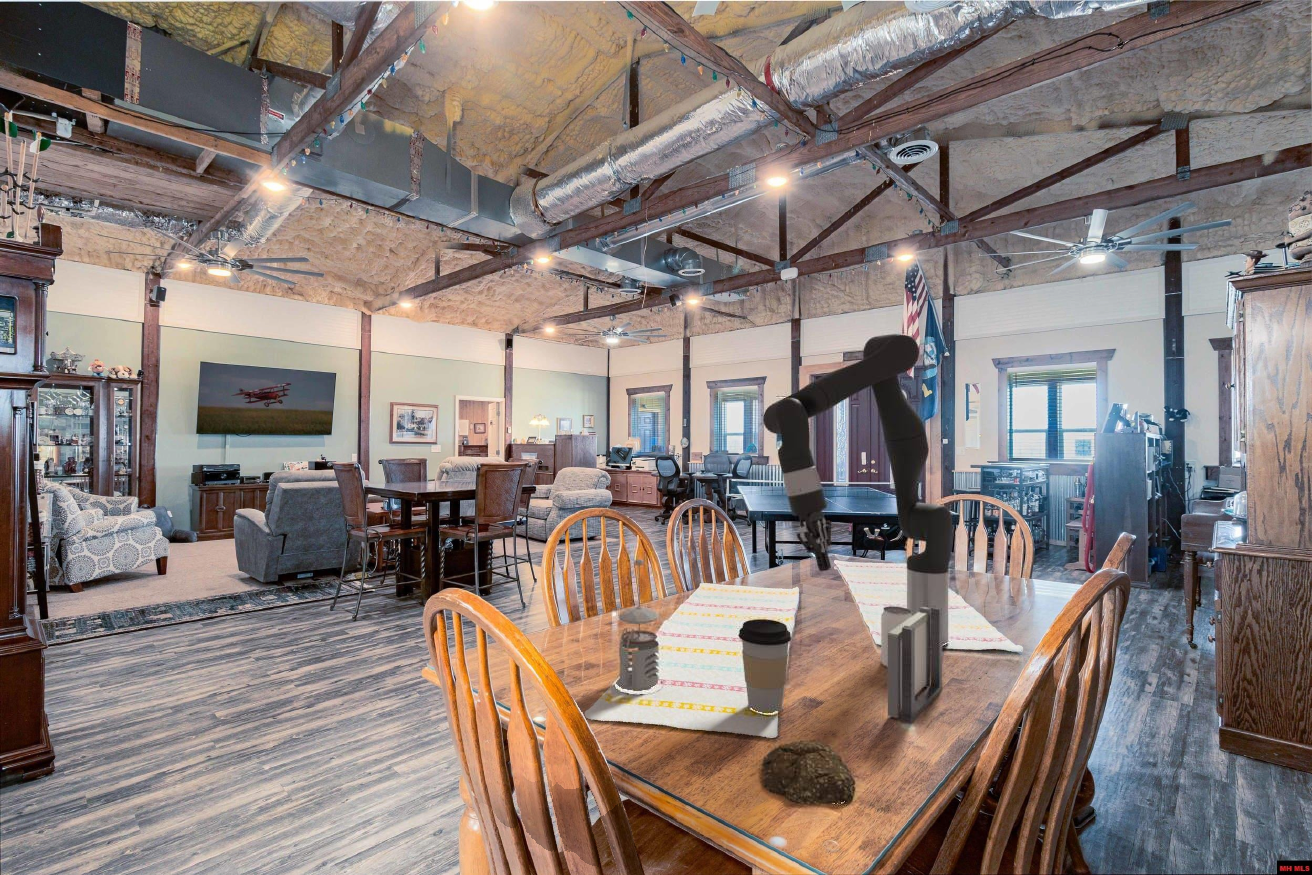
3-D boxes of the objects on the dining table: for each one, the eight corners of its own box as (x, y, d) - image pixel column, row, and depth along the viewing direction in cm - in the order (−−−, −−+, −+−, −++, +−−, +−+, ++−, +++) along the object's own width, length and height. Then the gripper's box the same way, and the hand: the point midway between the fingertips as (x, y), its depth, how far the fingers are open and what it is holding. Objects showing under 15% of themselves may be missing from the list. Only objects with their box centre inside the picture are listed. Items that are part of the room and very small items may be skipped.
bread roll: (834, 757, 93) (834, 725, 93) (866, 806, 80) (866, 769, 80) (752, 759, 92) (752, 726, 92) (770, 808, 80) (771, 770, 80)
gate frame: (933, 686, 119) (934, 605, 119) (942, 688, 118) (942, 607, 118) (901, 720, 104) (901, 628, 104) (910, 723, 103) (910, 630, 103)
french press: (671, 680, 122) (671, 556, 122) (646, 702, 111) (646, 567, 111) (628, 671, 126) (628, 552, 126) (600, 693, 115) (600, 562, 115)
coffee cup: (793, 701, 112) (794, 620, 112) (787, 723, 103) (788, 636, 103) (743, 694, 115) (743, 615, 115) (733, 715, 106) (733, 630, 106)
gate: (920, 681, 120) (920, 606, 120) (931, 683, 119) (931, 607, 119) (886, 714, 105) (886, 629, 105) (898, 718, 104) (898, 631, 104)
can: (916, 672, 126) (916, 614, 126) (883, 669, 127) (883, 613, 127) (909, 661, 132) (910, 606, 133) (878, 658, 134) (879, 604, 134)
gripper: (807, 492, 122) (829, 576, 120) (832, 482, 132) (853, 559, 131) (774, 498, 126) (796, 580, 125) (801, 488, 137) (821, 563, 135)
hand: (825, 569), depth 128 cm, fingers closed
